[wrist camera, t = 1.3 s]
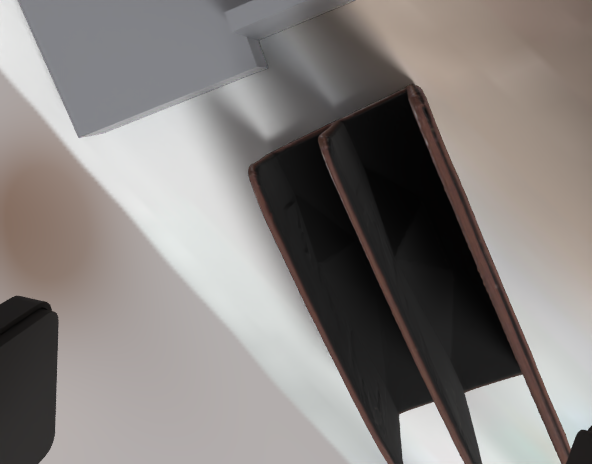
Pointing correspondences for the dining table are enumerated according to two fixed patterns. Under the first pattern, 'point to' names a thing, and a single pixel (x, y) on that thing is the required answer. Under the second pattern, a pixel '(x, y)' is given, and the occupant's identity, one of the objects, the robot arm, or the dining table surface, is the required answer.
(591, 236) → the dining table surface
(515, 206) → the dining table surface
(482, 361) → the letter holder
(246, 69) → the grey stepped platform
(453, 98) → the dining table surface
